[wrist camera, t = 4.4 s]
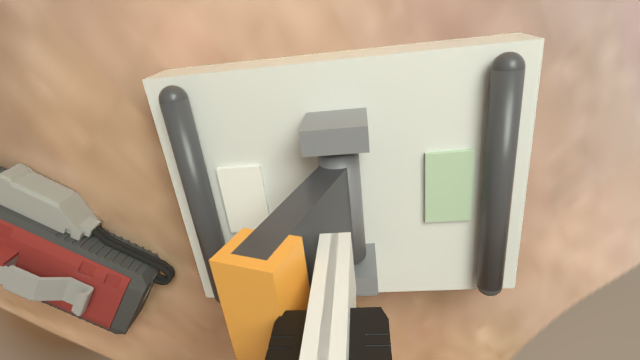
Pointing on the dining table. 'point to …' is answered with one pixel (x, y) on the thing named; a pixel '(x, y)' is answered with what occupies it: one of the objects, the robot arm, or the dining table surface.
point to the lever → (286, 253)
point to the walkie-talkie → (70, 254)
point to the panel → (365, 151)
